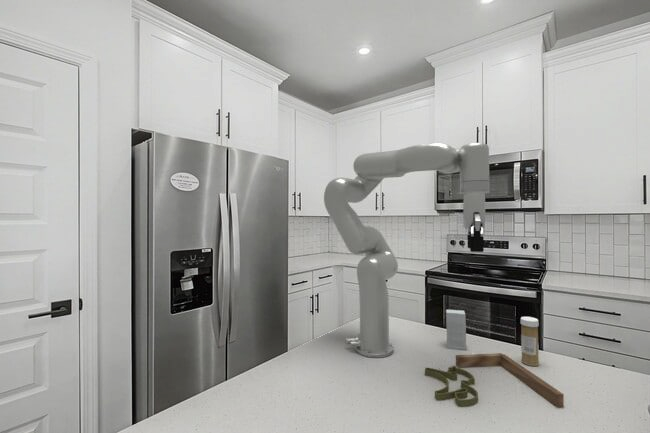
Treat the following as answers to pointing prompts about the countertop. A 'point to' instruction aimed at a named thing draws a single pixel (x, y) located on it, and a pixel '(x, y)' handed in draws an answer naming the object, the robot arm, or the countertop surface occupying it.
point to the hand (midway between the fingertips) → (475, 249)
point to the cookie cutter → (456, 394)
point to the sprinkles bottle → (529, 341)
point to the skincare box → (456, 329)
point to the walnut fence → (516, 370)
